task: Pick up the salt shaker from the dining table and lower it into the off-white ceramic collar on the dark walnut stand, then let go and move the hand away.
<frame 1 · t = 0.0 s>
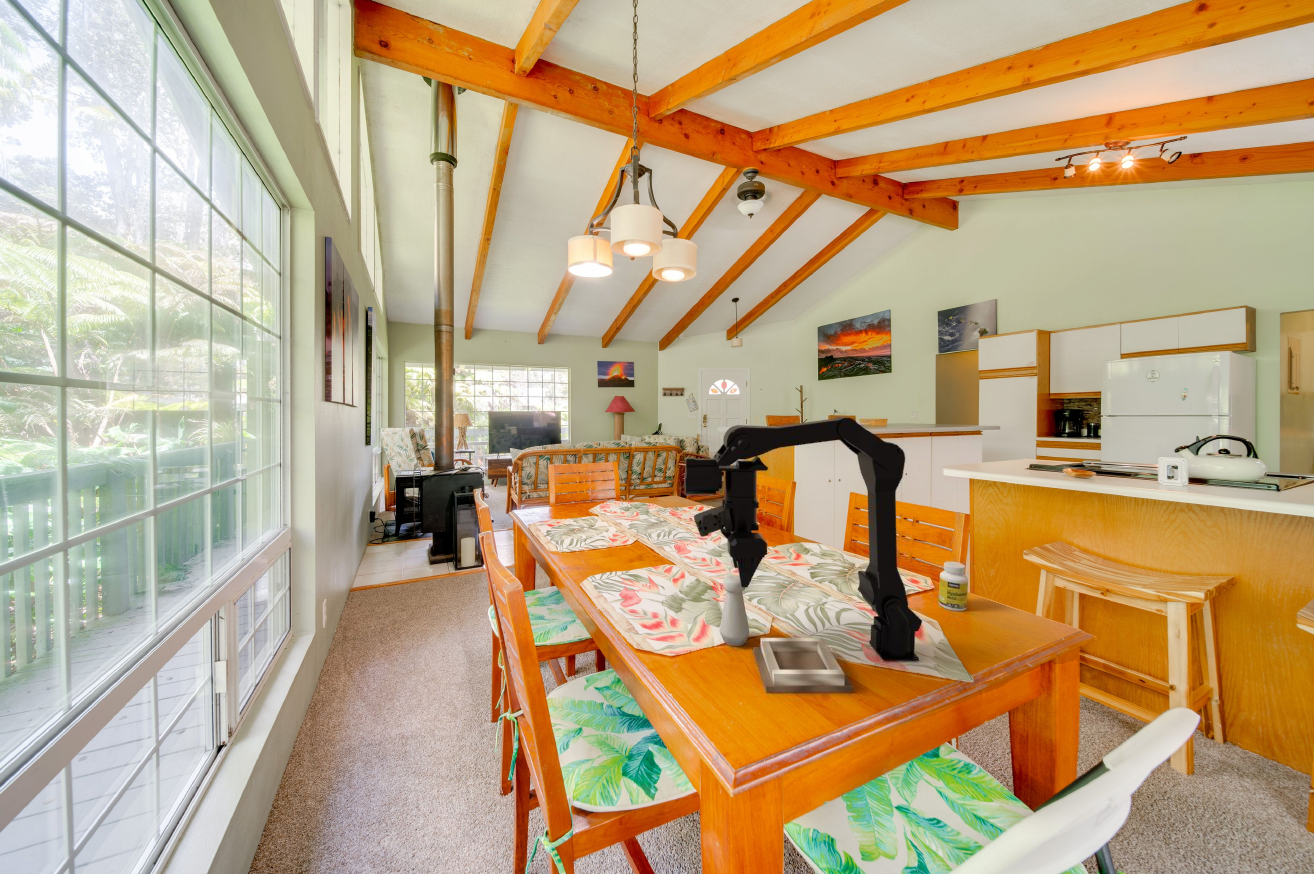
hand: (740, 576, 88), 15 cm above the table, fingers open, 9 cm apart
supplement bottle: (952, 607, 106), on the table
salt shaker: (734, 642, 93), on the table
shaker stand: (799, 670, 83), on the table
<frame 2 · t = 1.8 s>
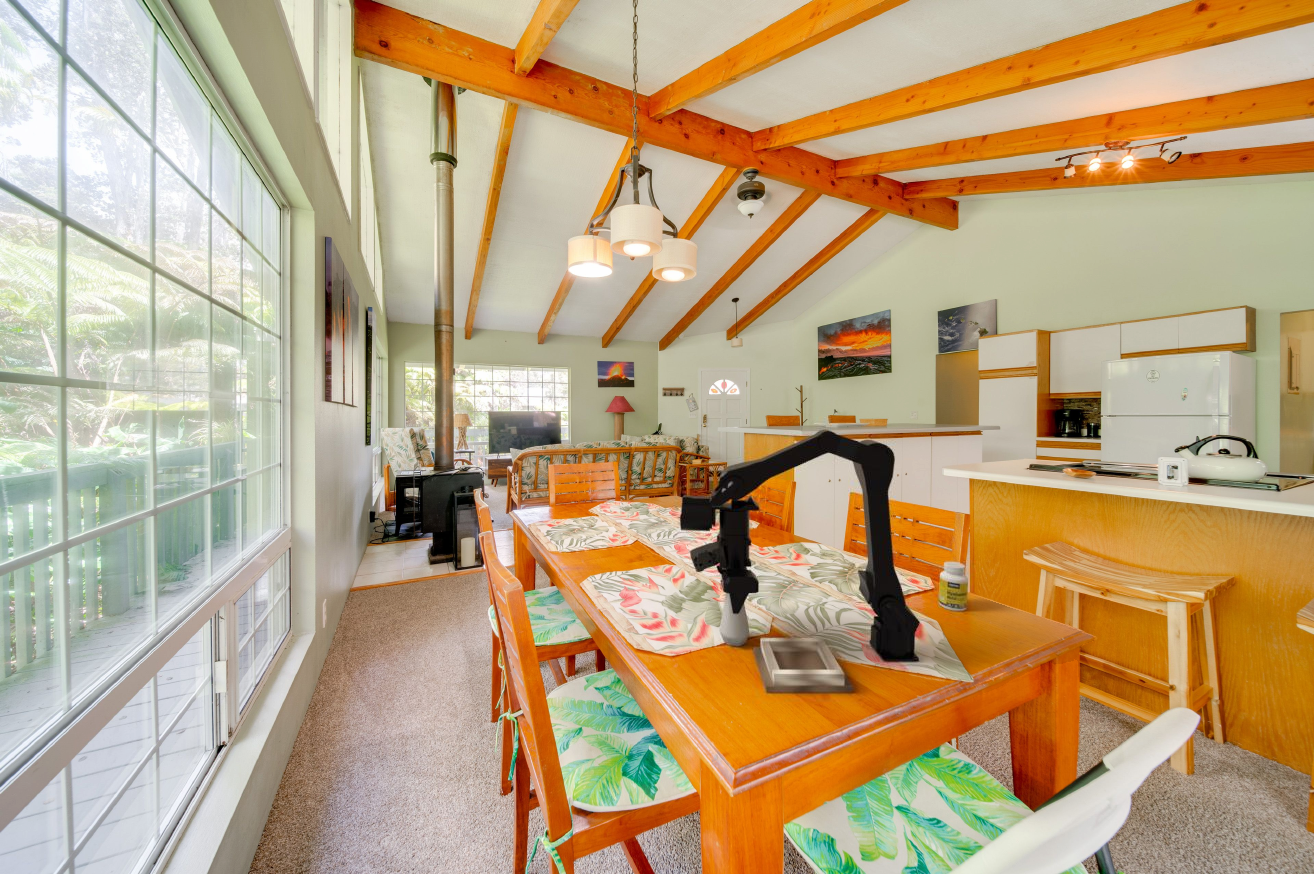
hand: (734, 609, 92), 7 cm above the table, fingers closed on salt shaker, 3 cm apart
salt shaker: (734, 642, 93), on the table, touching gripper
everything else where it was.
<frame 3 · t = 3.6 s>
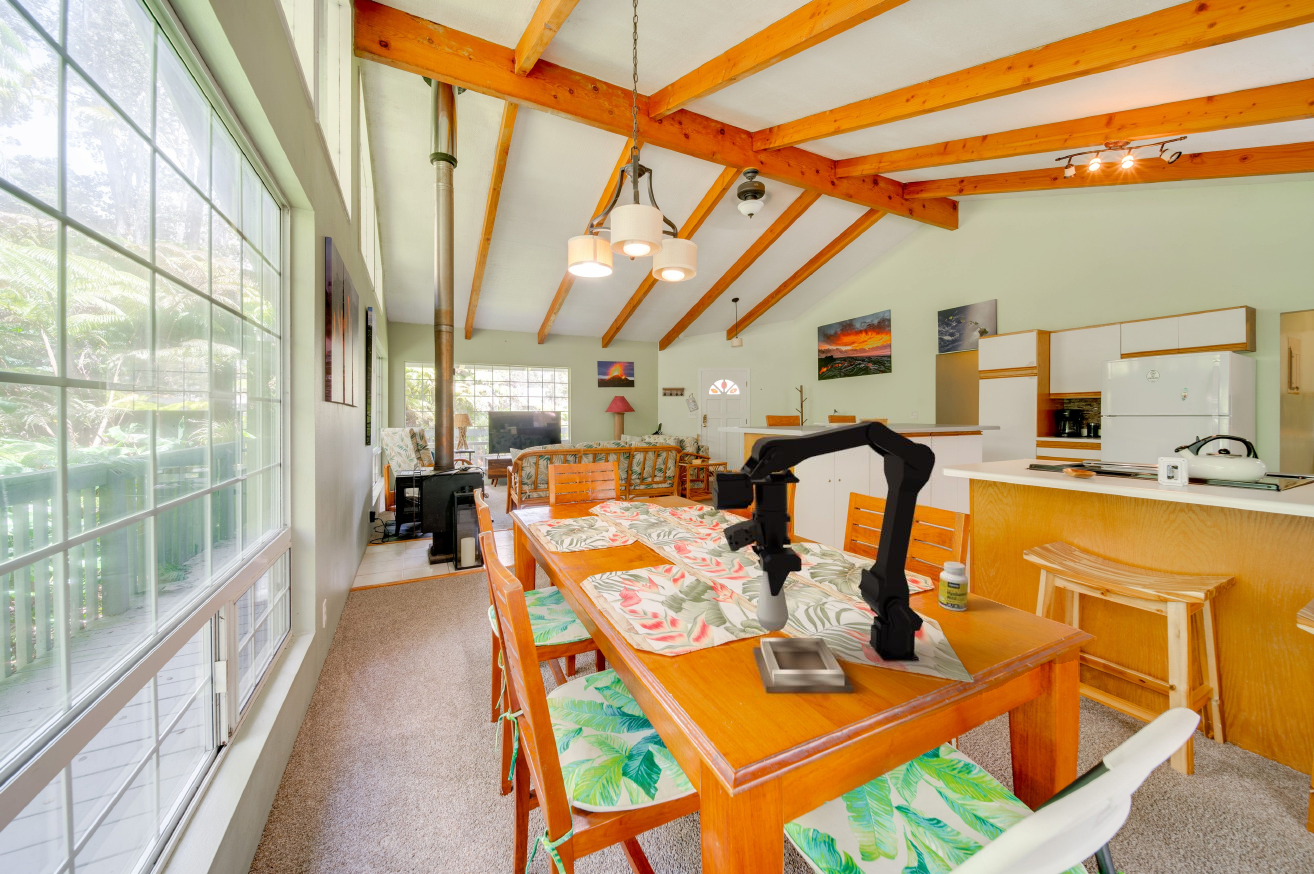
hand: (772, 591, 86), 13 cm above the table, fingers closed on salt shaker, 3 cm apart
salt shaker: (772, 626, 86), point 6 cm above the table, touching gripper
everything else where it was.
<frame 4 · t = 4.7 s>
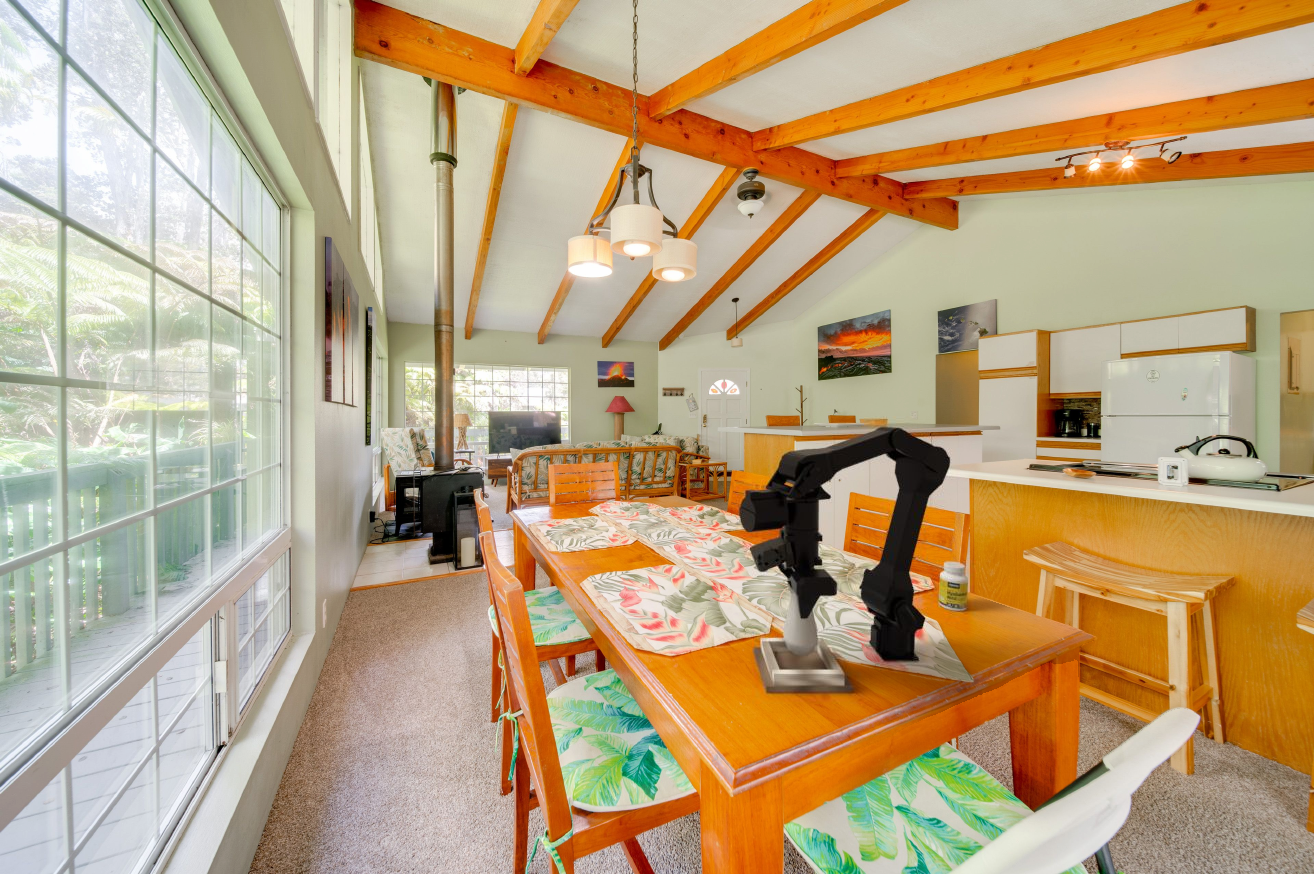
hand: (800, 613, 82), 10 cm above the table, fingers closed on salt shaker, 3 cm apart
salt shaker: (800, 650, 82), point 4 cm above the table, touching gripper
everything else where it was.
when the fingers open (8 cm above the table, at t = 5.4 s): salt shaker stays where it is, resting on shaker stand.
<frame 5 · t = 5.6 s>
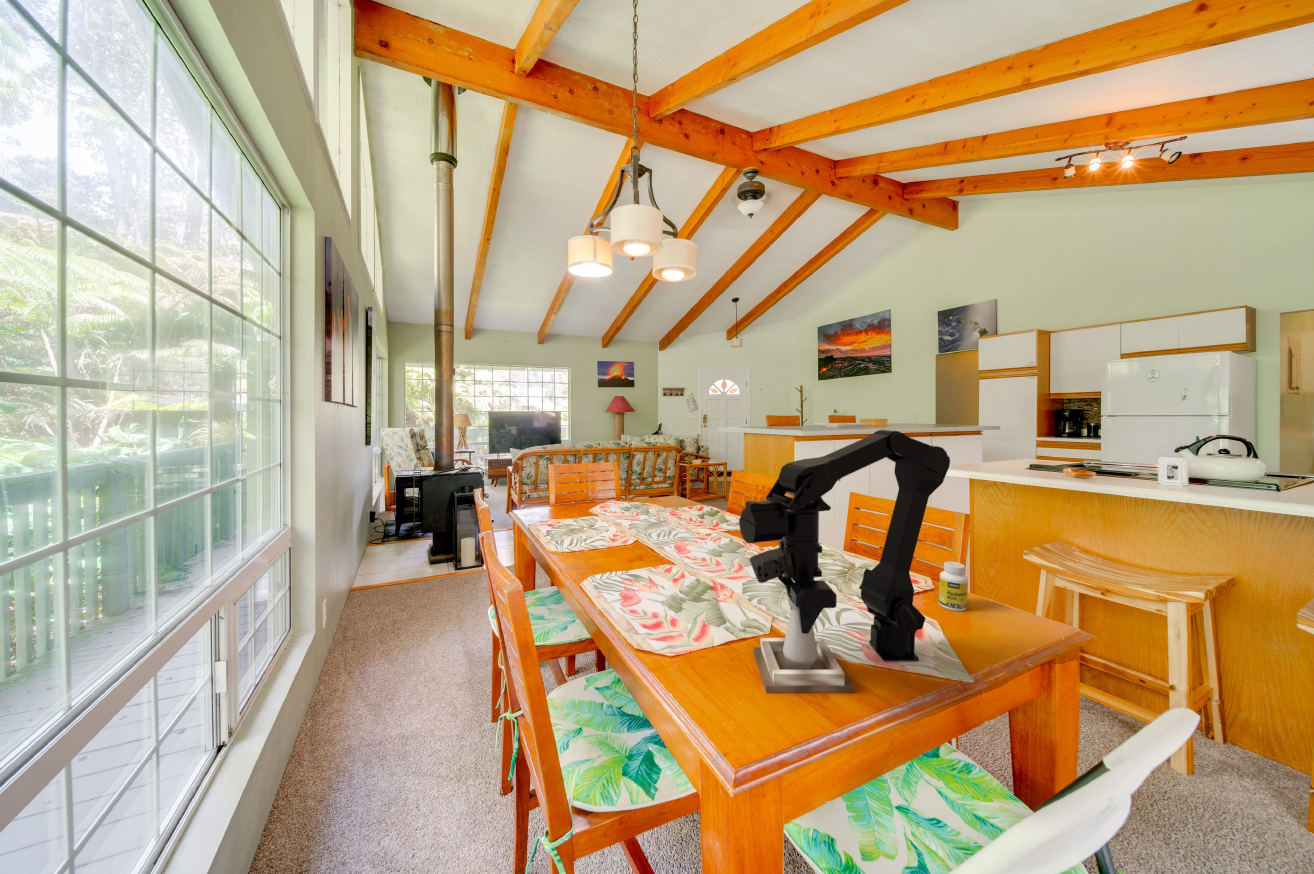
hand: (800, 624, 82), 8 cm above the table, fingers open, 6 cm apart
salt shaker: (799, 666, 83), point 1 cm above the table, touching shaker stand
everything else where it was.
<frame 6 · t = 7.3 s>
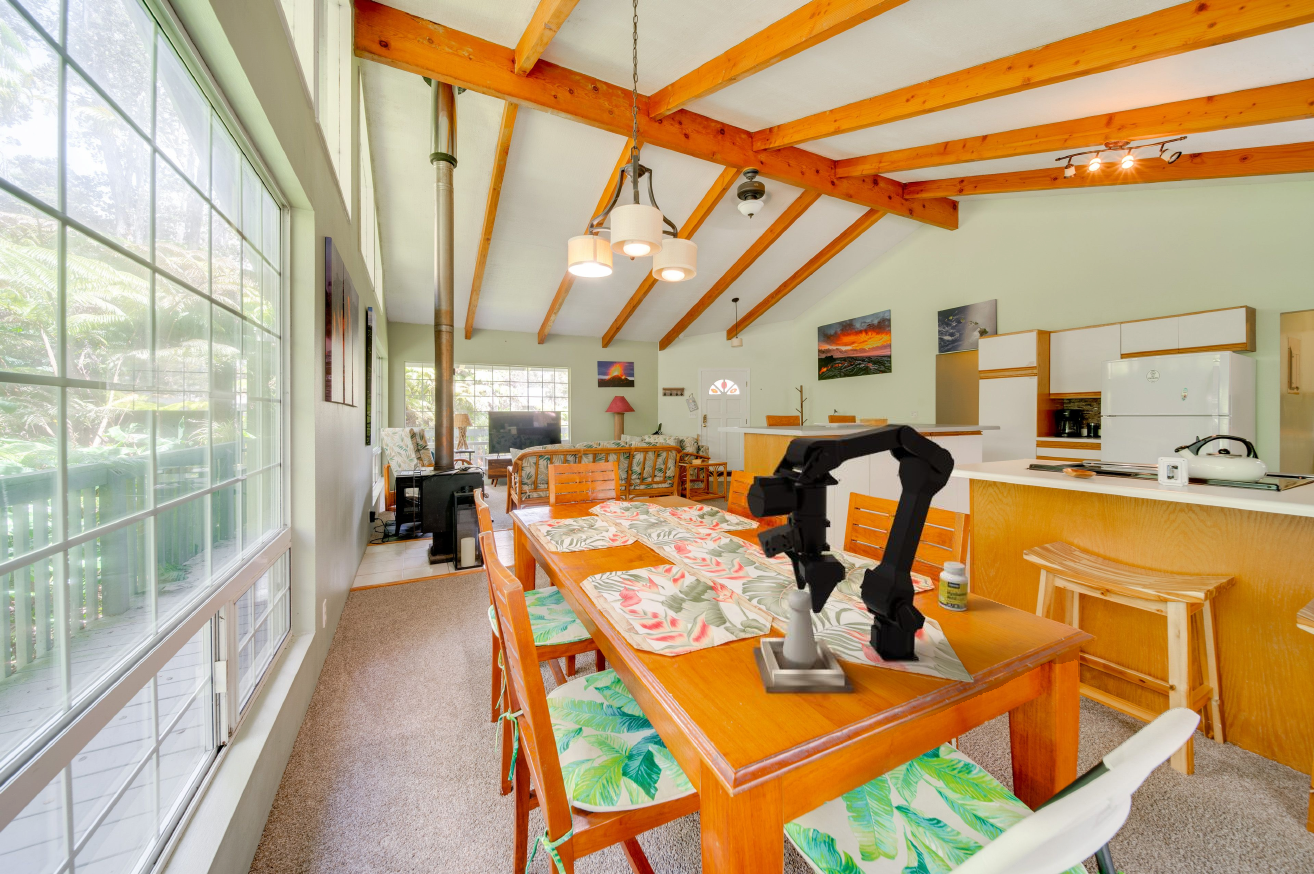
hand: (808, 600, 81), 13 cm above the table, fingers open, 9 cm apart
nothing on the table moved.
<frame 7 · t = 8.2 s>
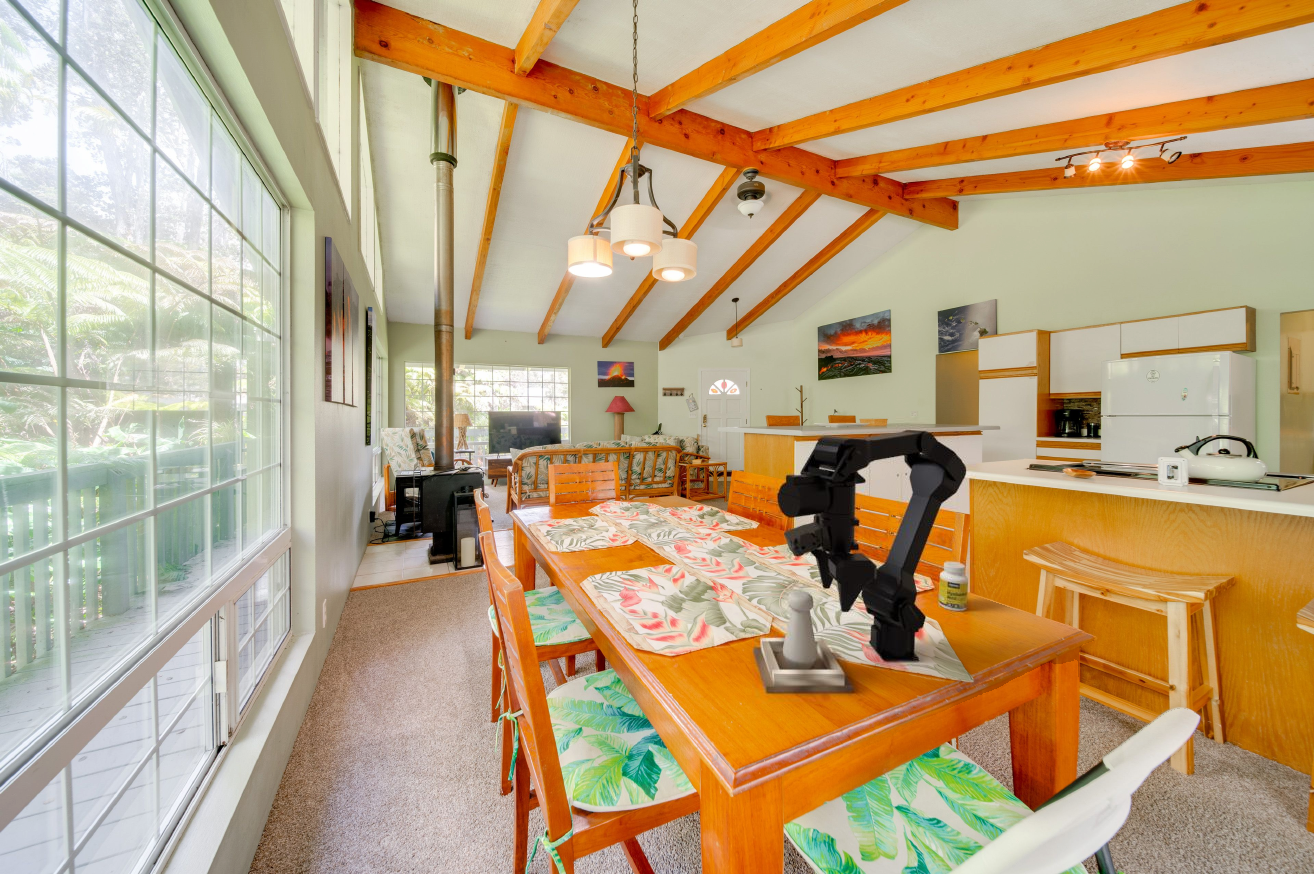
hand: (835, 599, 81), 13 cm above the table, fingers open, 9 cm apart
nothing on the table moved.
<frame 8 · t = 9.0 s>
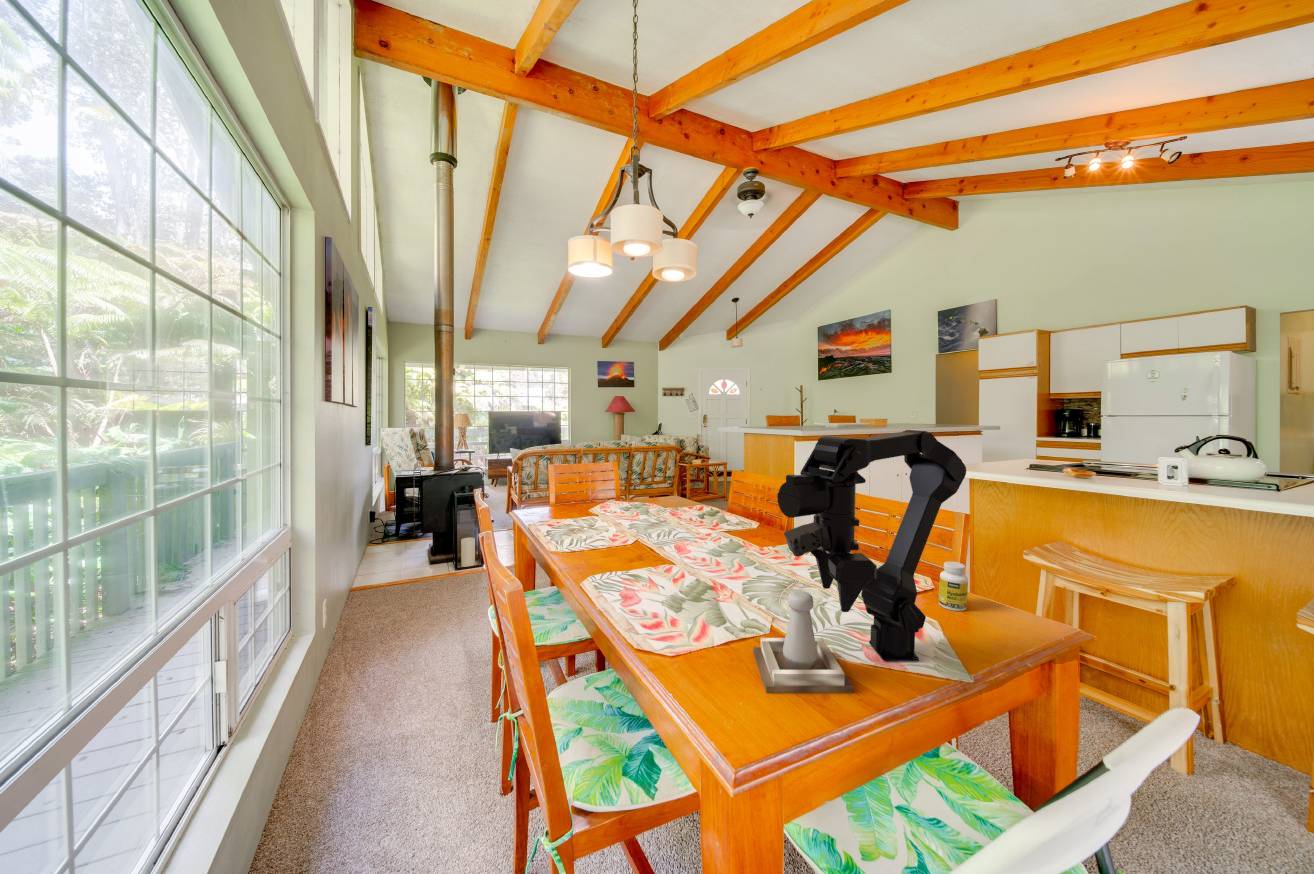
hand: (835, 599, 81), 13 cm above the table, fingers open, 9 cm apart
nothing on the table moved.
at the end: salt shaker 0.1 cm off-centre on the shaker stand, point 0.8 cm above the shaker stand's base; salt shaker tilted 0°; the gripper is holding nothing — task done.
